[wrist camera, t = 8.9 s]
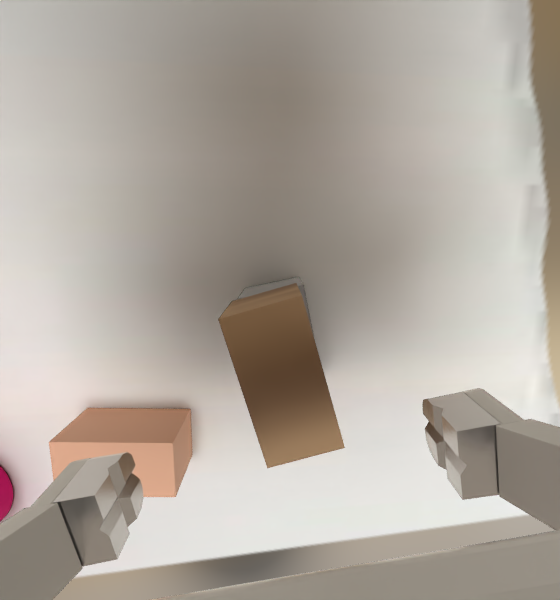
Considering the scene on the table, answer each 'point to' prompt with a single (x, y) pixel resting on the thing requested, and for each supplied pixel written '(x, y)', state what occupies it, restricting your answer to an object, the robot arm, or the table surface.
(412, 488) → the table surface
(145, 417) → the terracotta brick
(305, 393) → the walnut brick
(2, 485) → the pepper mill
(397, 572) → the robot arm
